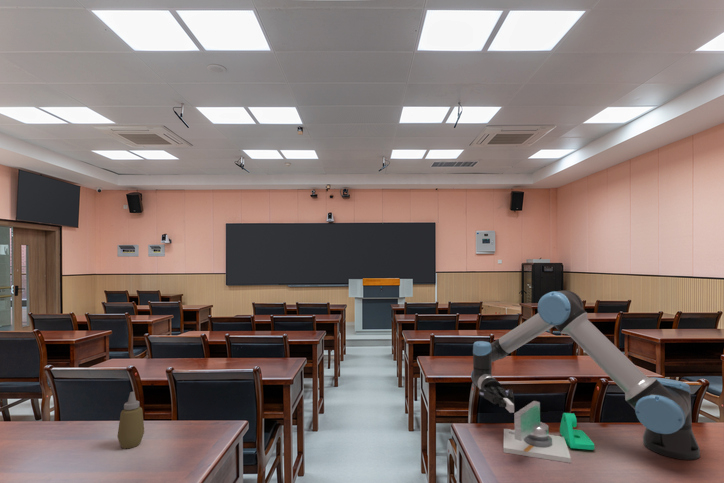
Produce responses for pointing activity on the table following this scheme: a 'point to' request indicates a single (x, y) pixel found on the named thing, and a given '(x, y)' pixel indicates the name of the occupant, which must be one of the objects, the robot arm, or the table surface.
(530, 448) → the post base
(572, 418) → the green mounting bracket
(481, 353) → the robot arm
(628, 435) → the table surface
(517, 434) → the brushed metal plate
